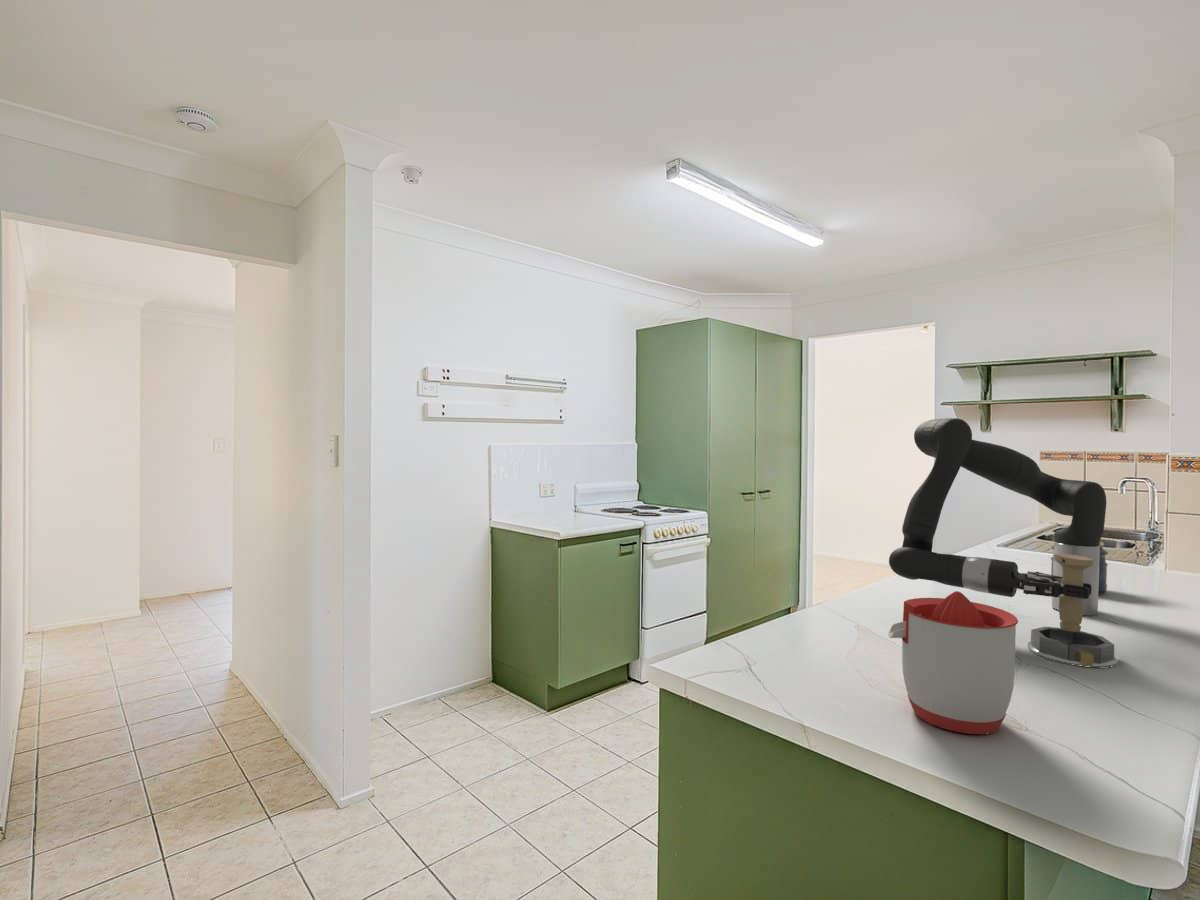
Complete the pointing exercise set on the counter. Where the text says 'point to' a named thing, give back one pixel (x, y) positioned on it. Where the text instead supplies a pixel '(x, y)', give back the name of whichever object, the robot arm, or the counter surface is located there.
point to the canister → (1102, 569)
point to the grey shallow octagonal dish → (1072, 647)
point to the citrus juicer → (957, 662)
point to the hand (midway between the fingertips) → (1089, 591)
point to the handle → (1072, 575)
